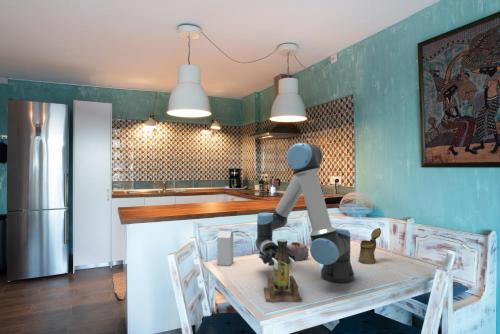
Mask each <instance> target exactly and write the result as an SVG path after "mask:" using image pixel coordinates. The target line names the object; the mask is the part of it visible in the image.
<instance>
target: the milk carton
mask: <svg viewBox="0 0 500 334" xmlns="http://www.w3.org/2000/svg"><path fill="white" fill-rule="evenodd" d="M216 237H217V238H216V241H217V242H216V243H217V245H216V249H217V251H216V253H217V255H216V256H217V259H216V261H217V266H226V267H227V266H231V265H232V264H233V263H234V233H233V229H232V228H218V233H217V236H216Z"/></svg>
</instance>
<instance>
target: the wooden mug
mask: <svg viewBox="0 0 500 334" xmlns="http://www.w3.org/2000/svg"><path fill="white" fill-rule="evenodd" d="M381 233H382V229H381V228H380V227H379V228H375V229H373V231H372V232H371V235H370V236H371V239H369V240H365V239H364V240H363V239H362V240H361V241H360V245H359V247H360V250H359V257H358V260H357V261H358V262H359V263H361V264H366V265H374V264H376V263H375V262H376V258H375V251H376V249H377V239H379V237H380V236H381ZM373 263H374V264H373Z"/></svg>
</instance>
